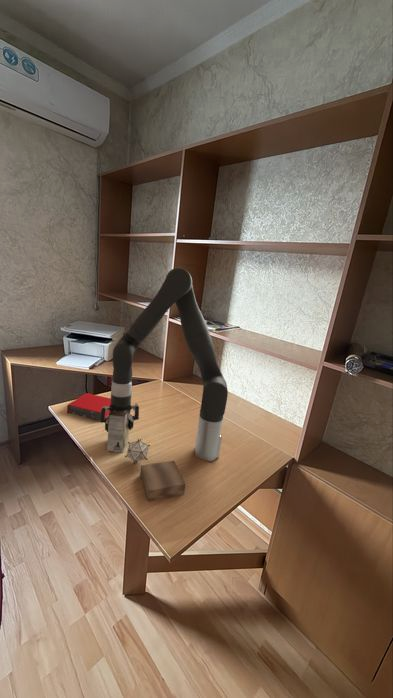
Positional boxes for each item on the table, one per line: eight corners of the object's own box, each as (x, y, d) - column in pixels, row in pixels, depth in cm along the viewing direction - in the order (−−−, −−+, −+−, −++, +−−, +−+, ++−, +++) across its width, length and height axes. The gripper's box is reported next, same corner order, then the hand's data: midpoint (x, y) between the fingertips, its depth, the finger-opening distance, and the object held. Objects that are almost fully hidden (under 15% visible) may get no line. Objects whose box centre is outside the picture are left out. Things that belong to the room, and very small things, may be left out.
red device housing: (67, 414, 134) (67, 404, 133) (85, 401, 147) (85, 392, 146) (102, 422, 130) (102, 412, 129) (117, 409, 144) (118, 400, 143)
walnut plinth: (173, 470, 105) (174, 460, 104) (184, 494, 95) (185, 483, 94) (140, 475, 101) (141, 465, 100) (147, 501, 90) (148, 490, 89)
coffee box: (113, 437, 120) (115, 402, 116) (129, 439, 120) (131, 404, 116) (106, 451, 111) (108, 413, 107) (123, 453, 111) (125, 415, 107)
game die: (138, 452, 113) (140, 429, 110) (153, 463, 108) (155, 439, 105) (119, 462, 106) (120, 438, 103) (134, 474, 101) (136, 449, 98)
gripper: (138, 387, 116) (135, 423, 120) (100, 388, 110) (99, 426, 114) (142, 395, 109) (138, 433, 113) (102, 397, 104) (100, 437, 108)
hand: (119, 429), depth 114 cm, fingers open, 8 cm apart
